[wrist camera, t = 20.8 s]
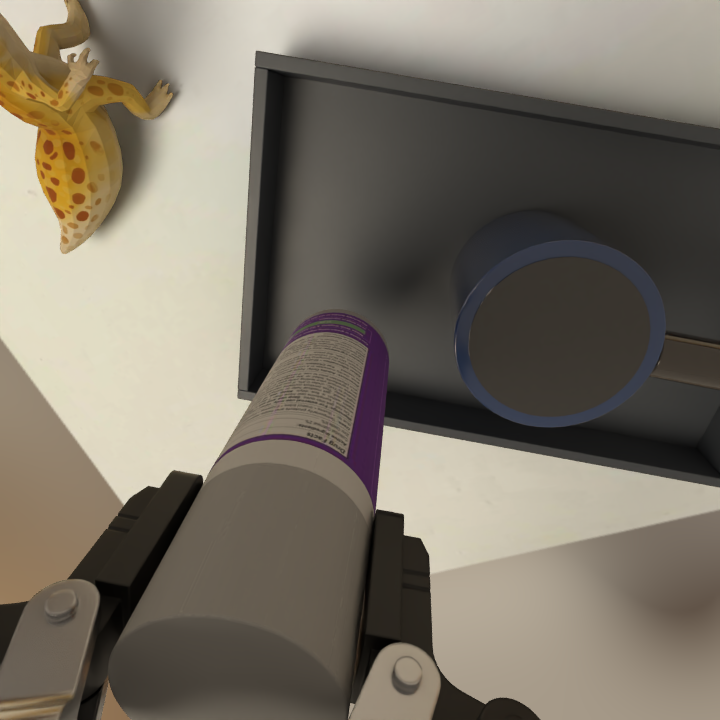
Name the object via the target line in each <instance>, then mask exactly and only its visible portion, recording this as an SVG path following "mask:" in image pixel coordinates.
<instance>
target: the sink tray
mask: <svg viewBox="0 0 720 720" xmlns="http://www.w3.org/2000/svg"><path fill="white" fill-rule="evenodd" d="M255 66H256V67H255V75H254V94H253V113H252V132H251V151H250V170H249V189H248V208H247V227H246V246H245V264H244V283H243V302H242V321H241V340H240V359H239V378H238V398H239V399H244V400H250V401H252V400H253V398H254V397H255V395H256V393H257V392H258V390H259V388H260V387H261V385H262V383H263V382H264V380H265V378H266V377H267V375H268V373H269V372H270V370H271V368H272V367H273V365H274V363H275V362H276V360H277V358H278V357H279V355H280V353H281V352H282V350H283V348H284V347H285V345H286V343H287V342H288V340H289V338H290V337H291V335H292V333H293V332H294V331H295V329H296V328H297V326H298V325H299V324H300V323H301V322H302V321H303V320H305V319H306V318H307V317H309V316H310V315H312V314H314V313H317V312H320V311H323V310H329V309H343V310H348V311H352V312H355V313H357V314H360V315H362V316H364V317H365V318H367V319H368V320H369V321H371V322H372V323H373V324H374V325H375V326H376V327H377V328H378V329H379V330H380V332H381V333H382V335H383V337H384V339H385V341H386V343H387V346H388V350H389V372H388V383H387V393H386V404H385V415H384V425H385V426H390V427H396V428H401V429H407V430H412V431H417V432H423V433H428V434H434V435H439V436H444V437H450V438H455V439H461V440H466V441H471V442H477V443H482V444H488V445H493V446H498V447H504V448H509V449H515V450H520V451H525V452H531V453H536V454H542V455H547V456H553V457H558V458H563V459H569V460H574V461H580V462H585V463H590V464H596V465H601V466H607V467H612V468H617V469H623V470H628V471H634V472H639V473H644V474H650V475H655V476H661V477H666V478H671V479H677V480H682V481H688V482H693V483H699V484H704V485H709V486H715V487H720V391H718V390H713V389H708V388H703V387H698V386H693V385H688V384H683V383H678V382H673V381H667V380H662V379H657V378H652V377H648V378H647V380H646V381H645V383H644V384H643V385H642V386H641V387H640V388H639V389H638V390H637V391H636V393H635V394H633V395H632V396H631V397H630V398H629V399H628V400H626V401H625V402H624V403H622V404H621V405H619V406H618V407H617V408H615V409H614V410H612V411H610V412H608V413H606V414H604V415H602V416H600V417H597V418H595V419H593V420H590V421H587V422H583V423H580V424H576V425H570V426H565V427H535V426H528V425H524V424H520V423H516V422H513V421H510V420H508V419H505V418H503V417H501V416H499V415H497V414H496V413H494V412H492V411H491V410H489V409H488V408H487V407H485V406H484V405H483V404H481V403H480V402H479V401H478V400H477V399H476V398H475V397H474V396H473V394H472V393H471V392H470V391H469V389H468V388H467V386H466V385H465V383H464V381H463V380H462V378H461V375H460V373H459V371H458V368H457V364H456V360H455V355H454V346H453V333H452V321H451V309H450V297H449V281H450V276H451V271H452V268H453V265H454V262H455V260H456V258H457V256H458V254H459V252H460V251H461V249H462V247H463V246H464V245H465V244H466V242H467V241H468V240H469V239H470V238H471V237H472V236H473V235H474V234H475V233H476V232H477V231H478V230H479V229H481V228H482V227H483V226H485V225H486V224H488V223H490V222H491V221H493V220H495V219H497V218H499V217H502V216H504V215H507V214H511V213H514V212H519V211H526V210H539V211H548V212H552V213H556V214H559V215H561V216H564V217H566V218H568V219H570V220H572V221H573V222H575V223H577V224H578V225H580V226H581V227H583V228H585V229H586V230H588V231H589V232H591V233H593V234H594V235H596V236H597V237H599V238H601V239H602V240H604V241H605V242H607V243H609V244H610V245H612V246H613V247H615V248H616V249H618V250H620V251H621V252H623V253H624V254H626V255H628V256H629V257H631V258H632V259H633V260H634V261H636V262H637V263H638V264H639V265H641V266H642V267H643V269H644V270H645V271H646V272H647V273H648V274H649V275H650V277H651V278H652V280H653V281H654V283H655V284H656V286H657V288H658V290H659V293H660V295H661V297H662V300H663V304H664V308H665V315H666V330H669V331H674V332H679V333H685V334H690V335H695V336H700V337H706V338H711V339H716V340H720V129H717V128H711V127H705V126H699V125H693V124H688V123H682V122H676V121H670V120H664V119H658V118H652V117H646V116H640V115H634V114H628V113H622V112H616V111H611V110H605V109H599V108H593V107H587V106H581V105H575V104H569V103H563V102H557V101H551V100H545V99H540V98H534V97H528V96H522V95H516V94H510V93H504V92H498V91H492V90H486V89H480V88H474V87H469V86H463V85H457V84H451V83H445V82H439V81H433V80H427V79H421V78H415V77H409V76H403V75H398V74H392V73H386V72H380V71H374V70H368V69H362V68H356V67H350V66H344V65H338V64H332V63H327V62H321V61H315V60H309V59H303V58H297V57H291V56H285V55H279V54H273V53H267V52H261V51H256V56H255Z"/></svg>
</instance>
